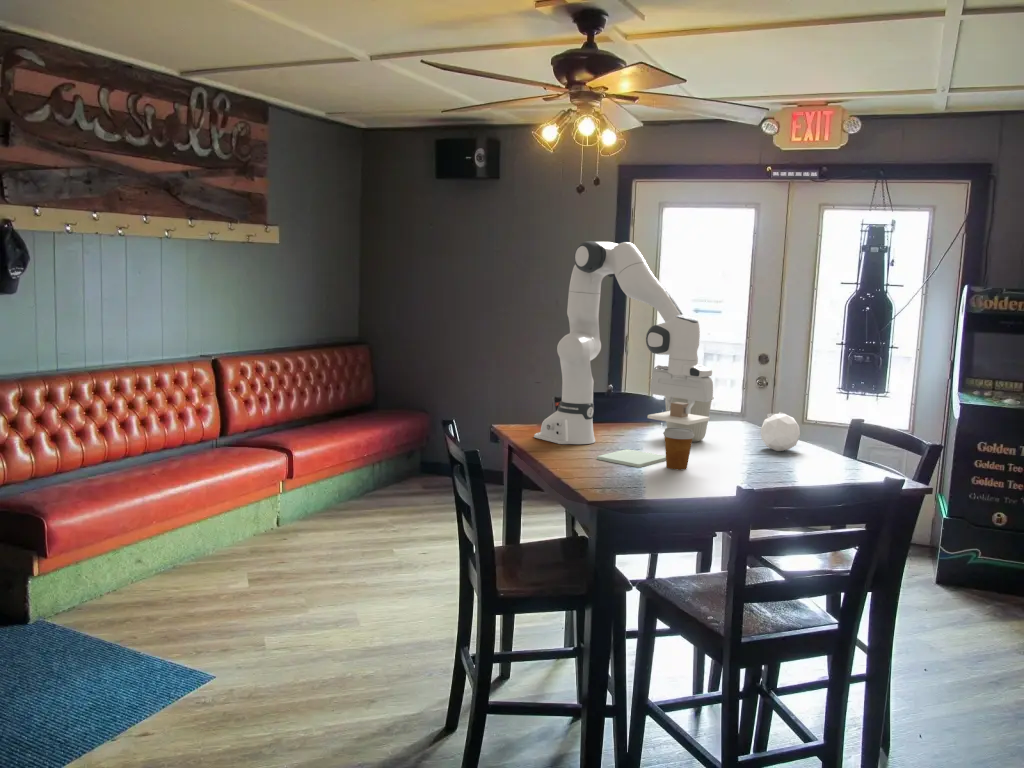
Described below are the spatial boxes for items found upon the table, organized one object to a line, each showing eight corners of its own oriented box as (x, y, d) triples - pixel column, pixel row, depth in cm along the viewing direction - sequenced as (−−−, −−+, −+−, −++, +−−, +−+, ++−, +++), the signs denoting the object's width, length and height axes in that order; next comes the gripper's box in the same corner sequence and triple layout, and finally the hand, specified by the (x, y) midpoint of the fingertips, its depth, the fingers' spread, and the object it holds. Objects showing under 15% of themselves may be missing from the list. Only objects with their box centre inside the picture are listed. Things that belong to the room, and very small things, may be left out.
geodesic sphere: (755, 436, 299) (781, 406, 298) (745, 429, 313) (771, 400, 311) (786, 462, 300) (813, 432, 298) (775, 454, 313) (801, 425, 312)
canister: (720, 443, 314) (724, 386, 311) (675, 445, 308) (679, 386, 306) (695, 434, 331) (698, 380, 328) (652, 435, 326) (655, 380, 323)
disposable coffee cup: (667, 471, 265) (670, 432, 264) (656, 464, 274) (658, 427, 273) (697, 471, 267) (699, 432, 266) (685, 464, 276) (687, 427, 275)
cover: (647, 418, 268) (648, 402, 267) (670, 413, 279) (671, 398, 278) (687, 424, 259) (689, 408, 259) (709, 420, 270) (710, 404, 269)
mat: (596, 459, 279) (597, 456, 279) (627, 451, 293) (627, 449, 293) (639, 467, 269) (639, 464, 269) (668, 459, 283) (668, 456, 282)
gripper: (648, 365, 271) (645, 408, 273) (707, 372, 258) (703, 418, 260) (658, 364, 276) (655, 406, 278) (717, 371, 263) (713, 416, 265)
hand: (679, 412), depth 269 cm, fingers closed on cover, 4 cm apart
